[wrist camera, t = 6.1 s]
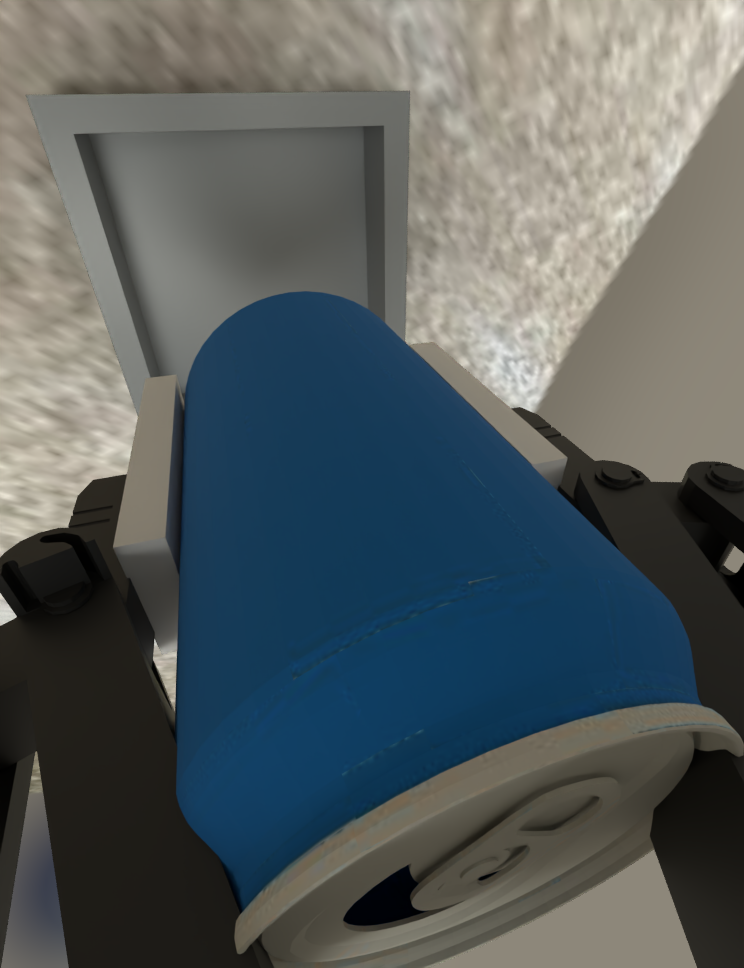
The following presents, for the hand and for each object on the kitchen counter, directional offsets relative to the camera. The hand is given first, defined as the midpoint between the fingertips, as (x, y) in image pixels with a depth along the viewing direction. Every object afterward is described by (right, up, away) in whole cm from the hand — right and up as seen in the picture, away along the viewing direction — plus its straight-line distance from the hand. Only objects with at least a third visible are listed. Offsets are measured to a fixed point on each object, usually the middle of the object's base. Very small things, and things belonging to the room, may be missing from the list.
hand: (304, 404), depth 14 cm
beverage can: (0, 0, 0) cm, 1 cm away
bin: (-5, +10, +13) cm, 17 cm away
